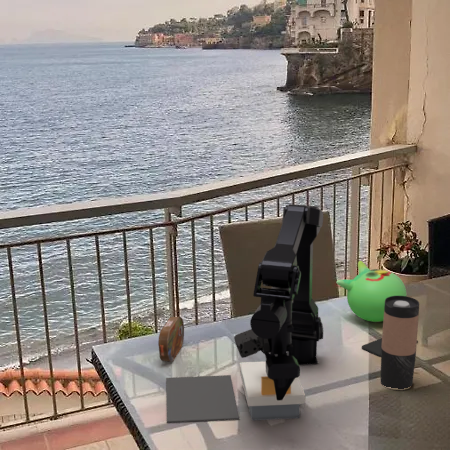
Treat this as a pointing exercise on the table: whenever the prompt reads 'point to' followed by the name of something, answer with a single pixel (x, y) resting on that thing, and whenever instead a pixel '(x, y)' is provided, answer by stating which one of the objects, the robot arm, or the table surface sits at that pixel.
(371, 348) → the phone
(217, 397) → the mat
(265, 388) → the lid
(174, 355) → the tin
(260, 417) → the parts tub
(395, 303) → the travel mug
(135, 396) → the table surface
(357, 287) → the toy bird
